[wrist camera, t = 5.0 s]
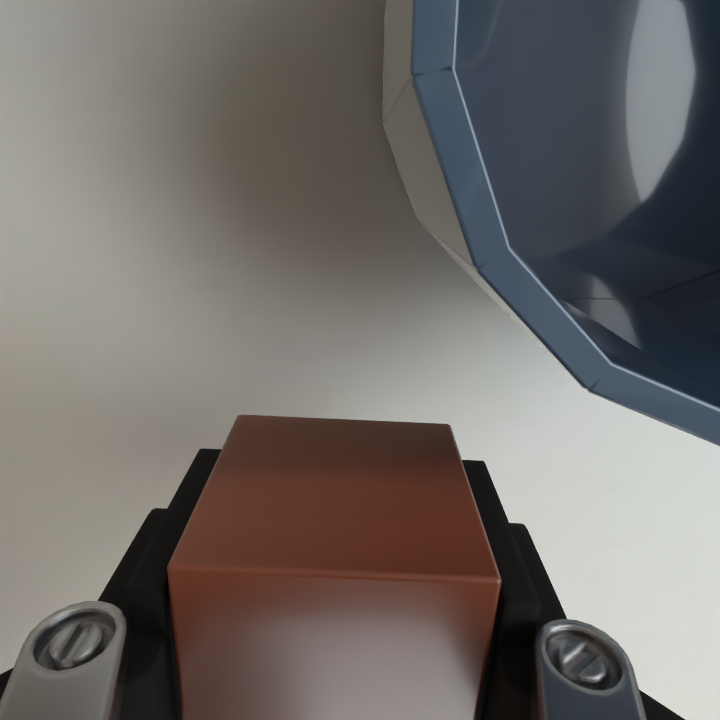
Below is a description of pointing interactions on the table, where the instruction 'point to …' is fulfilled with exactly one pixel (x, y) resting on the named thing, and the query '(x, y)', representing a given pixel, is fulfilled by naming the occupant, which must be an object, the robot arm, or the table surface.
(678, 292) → the bowl
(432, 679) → the block
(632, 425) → the table surface
